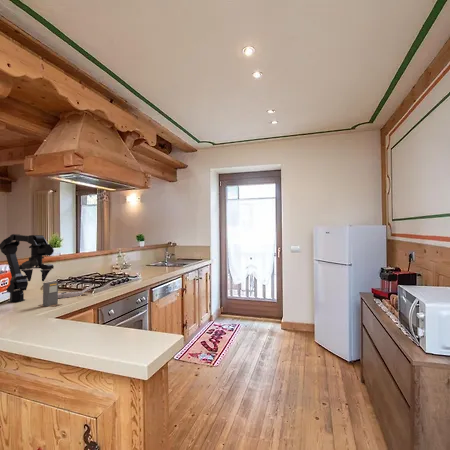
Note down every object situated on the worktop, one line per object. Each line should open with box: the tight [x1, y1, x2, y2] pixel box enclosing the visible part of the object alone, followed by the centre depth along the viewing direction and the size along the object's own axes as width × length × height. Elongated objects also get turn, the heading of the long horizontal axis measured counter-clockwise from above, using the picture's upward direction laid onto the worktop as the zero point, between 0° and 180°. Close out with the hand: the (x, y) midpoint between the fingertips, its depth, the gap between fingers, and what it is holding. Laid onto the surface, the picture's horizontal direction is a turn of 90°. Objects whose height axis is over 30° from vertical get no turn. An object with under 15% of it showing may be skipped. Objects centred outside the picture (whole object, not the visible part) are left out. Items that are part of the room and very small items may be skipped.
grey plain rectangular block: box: [42, 280, 59, 307], centre depth 156 cm, size 4×6×13 cm
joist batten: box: [37, 303, 63, 308], centre depth 155 cm, size 12×5×1 cm, turn 76°
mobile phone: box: [58, 285, 95, 299], centre depth 181 cm, size 6×6×25 cm
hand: (36, 281), depth 163 cm, fingers open, 9 cm apart
